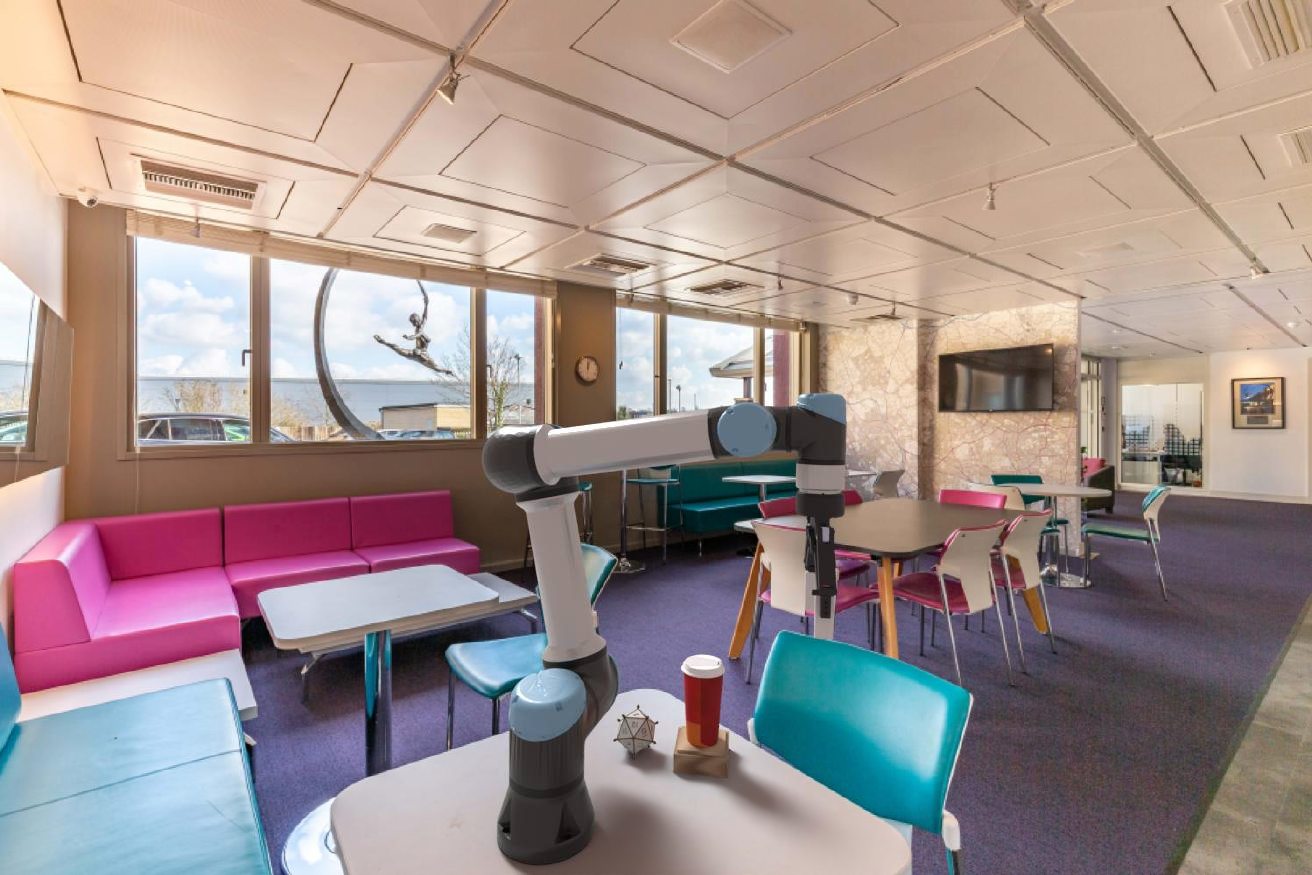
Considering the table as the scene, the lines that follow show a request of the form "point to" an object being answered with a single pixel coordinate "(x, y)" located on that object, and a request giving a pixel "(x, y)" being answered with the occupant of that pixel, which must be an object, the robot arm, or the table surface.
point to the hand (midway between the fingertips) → (817, 623)
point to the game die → (636, 731)
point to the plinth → (701, 756)
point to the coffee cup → (703, 698)
